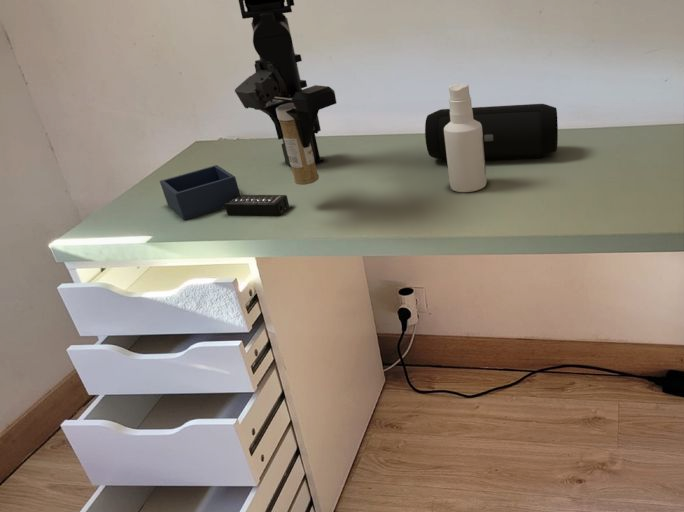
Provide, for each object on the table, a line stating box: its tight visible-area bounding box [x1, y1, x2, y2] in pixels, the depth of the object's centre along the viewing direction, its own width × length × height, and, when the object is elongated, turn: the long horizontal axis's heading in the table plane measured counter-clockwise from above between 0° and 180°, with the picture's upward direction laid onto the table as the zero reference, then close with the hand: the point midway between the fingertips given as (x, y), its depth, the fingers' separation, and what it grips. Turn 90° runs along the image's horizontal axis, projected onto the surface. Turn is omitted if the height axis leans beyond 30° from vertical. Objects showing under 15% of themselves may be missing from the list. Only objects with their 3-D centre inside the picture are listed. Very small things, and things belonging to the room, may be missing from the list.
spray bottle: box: [444, 83, 488, 193], centre depth 127 cm, size 7×7×18 cm
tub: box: [159, 164, 241, 221], centre depth 136 cm, size 11×10×5 cm
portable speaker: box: [424, 103, 559, 162], centre depth 141 cm, size 26×10×10 cm, turn 81°
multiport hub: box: [224, 194, 290, 217], centre depth 131 cm, size 4×11×2 cm, turn 75°
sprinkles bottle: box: [276, 103, 320, 186], centre depth 124 cm, size 5×5×13 cm
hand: (297, 145), depth 124 cm, fingers closed on sprinkles bottle, 4 cm apart
